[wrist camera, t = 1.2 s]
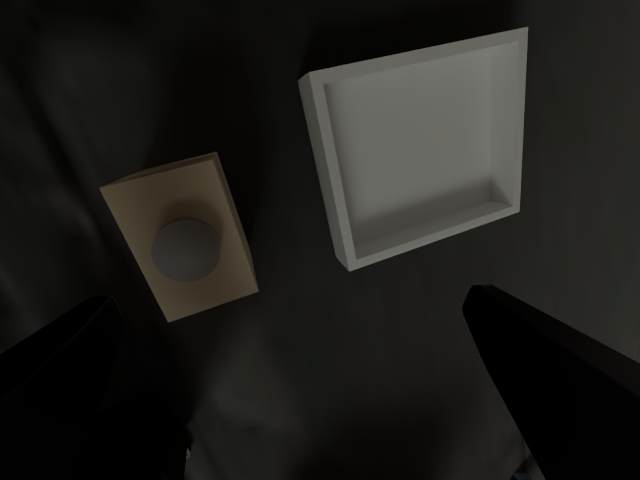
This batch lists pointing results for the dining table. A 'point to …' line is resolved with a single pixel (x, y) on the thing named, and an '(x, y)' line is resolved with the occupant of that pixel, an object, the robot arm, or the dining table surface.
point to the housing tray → (418, 143)
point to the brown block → (184, 234)
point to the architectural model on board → (521, 476)
